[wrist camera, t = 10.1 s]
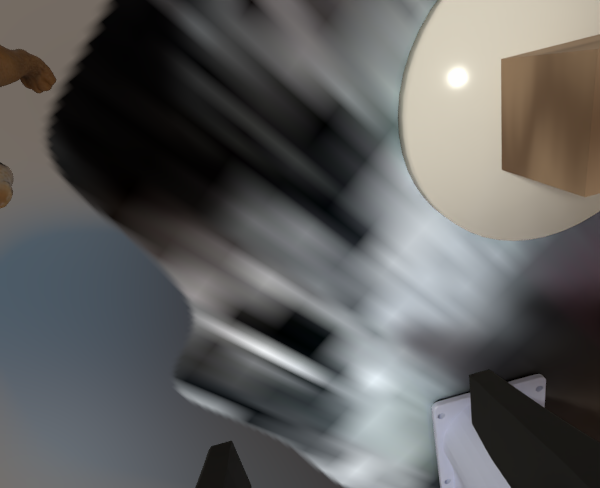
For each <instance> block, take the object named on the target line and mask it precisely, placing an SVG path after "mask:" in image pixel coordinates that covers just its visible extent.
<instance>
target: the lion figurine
mask: <svg viewBox="0 0 600 488" xmlns="http://www.w3.org/2000/svg"><path fill="white" fill-rule="evenodd" d="M19 79H20V80H21V82H22V83H23V84H24V86H25V87H27V88H29V89H32V90H34V91H35V92H36V93H41V92H43V91H48V90H50V89H51V87H52V85H53V84H54V83H55V82H56V78H55V77H54V75H53V73H52V71H51V70H50V68H49V67H48V66H47V65H46V64H45V63H44V62H43V61H42V60H41V59H40V58H38V57H36V56H34V55H32V54H29V53H28V52H26V51H24V50H22V49H16V50H9V49H7V48H5V47H3V46H1V45H0V87H2V86H5V85H8V84H11V83H13V82H15V81H17V80H19ZM12 184H13V173H12V171H11V170H10V168H9V167H7V166H5V165H3V164H2V163H0V208H3V207H5V206H6V205H7V204H8V203H9V201H10V200H11V198H12V195H13V190H12V187H11V186H12Z"/></svg>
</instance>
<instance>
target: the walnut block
mask: <svg viewBox="0 0 600 488" xmlns="http://www.w3.org/2000/svg"><path fill="white" fill-rule="evenodd" d="M501 140H502V170H504V171H507V172H510V173H513V174H516V175H519V176H522V177H525V178H528V179H531V180H534V181H537V182H540V183H543V184H546V185H549V186H552V187H555V188H558V189H561V190H564V191H567V192H570V193H573V194H576V195H579V196H582V197H588V196H592V195H595V194H599V193H600V34H598V35H595V36H591V37H587V38H583V39H579V40H575V41H571V42H567V43H563V44H559V45H555V46H551V47H547V48H543V49H539V50H535V51H531V52H527V53H523V54H519V55H515V56H511V57H507V58H503V59H501Z"/></svg>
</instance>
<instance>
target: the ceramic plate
mask: <svg viewBox="0 0 600 488" xmlns="http://www.w3.org/2000/svg"><path fill="white" fill-rule="evenodd" d="M598 34H600V0H437V2H436V3H435V4H434V6H433V7H432V9H431V10H430V12H429V14H428V15H427V17H426V19H425V21H424V23H423V24H422V26H421V28H420V30H419V32H418V34H417V36H416V39H415V41H414V43H413V46H412V48H411V50H410V53H409V56H408V60H407V63H406V66H405V69H404V73H403V78H402V83H401V88H400V94H399V106H398V128H399V139H400V144H401V150H402V154H403V157H404V161H405V164H406V167H407V170H408V172H409V174H410V176H411V178H412V180H413V182H414V184H415V186H416V187H417V189H418V190H419V191H420V193H421V194H422V196H423V197H424V198H425V199H426V201H427V202H428V203H429V204H430V205H431V206H432V207H433V208H434V209H435V210H437V211H438V212H439V213H441V214H442V215H443V216H444V217H446V218H447V219H449V220H450V221H452V222H453V223H455V224H456V225H458V226H460V227H462V228H464V229H465V230H467V231H469V232H471V233H474V234H477V235H480V236H483V237H486V238H492V239H497V240H509V241H518V240H530V239H535V238H540V237H545V236H549V235H552V234H555V233H558V232H561V231H564V230H566V229H568V228H570V227H572V226H575V225H577V224H579V223H581V222H582V221H584V220H586V219H588V218H589V217H591V216H593V215H594V214H596V213H597V212H599V211H600V193H599V194H595V195H592V196H588V197H582V196H579V195H576V194H573V193H570V192H567V191H564V190H561V189H558V188H555V187H552V186H549V185H546V184H543V183H540V182H537V181H534V180H531V179H528V178H525V177H522V176H519V175H516V174H513V173H510V172H507V171H504V170H502V140H501V59H503V58H507V57H511V56H515V55H519V54H523V53H527V52H531V51H535V50H539V49H543V48H547V47H551V46H555V45H559V44H563V43H567V42H571V41H575V40H579V39H583V38H587V37H591V36H595V35H598Z"/></svg>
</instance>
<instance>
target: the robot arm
mask: <svg viewBox="0 0 600 488" xmlns="http://www.w3.org/2000/svg"><path fill="white" fill-rule="evenodd" d="M469 380H470V393H466V394H463V395H459V396H456V397H452V398H448V399H445V400H441V401H438V402H435V403H434V404H433V405H432V408H431V410H432V419H433V428H434V436H435V445H436V454H437V463H438V472H439V481H440V488H600V442H598V441H596V440H595V439H593V438H591V437H590V436H588V435H586V434H585V433H583V432H582V431H580V430H578V429H577V428H575V427H574V426H572V425H570V424H569V423H567V422H566V421H564V420H563V419H561V418H560V417H558V416H557V415H555V414H553V413H552V412H550V411H549V410H547V409H546V408H545V391H546V379H545V378H544V377H543V376H542V375H541V374H535V375H531V376H527V377H524V378H520V379H517V380H513V381H509V382H507V381H505V380H504V379H502V378H501V377H500V376H498V375H497V374H495V373H494V372H492V371H491V370H485V371H482V372H478V373H474V374H471V375H469ZM196 488H251V484H250V482H249V479H248V477H247V475H246V472H245V470H244V468H243V465H242V463H241V461H240V458H239V456H238V454H237V451H236V449H235V447H234V445H233V442H232V441H229V442H226V443H222V444H218V445H214V446H211V448H210V449H209V451H208V454H207V457H206V460H205V463H204V466H203V469H202V471H201V474H200V477H199V479H198V482H197V485H196Z"/></svg>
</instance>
